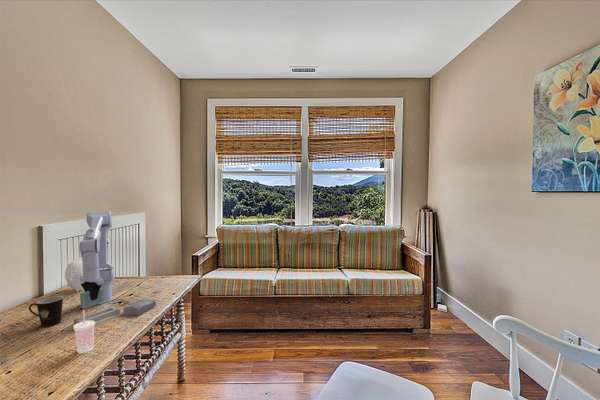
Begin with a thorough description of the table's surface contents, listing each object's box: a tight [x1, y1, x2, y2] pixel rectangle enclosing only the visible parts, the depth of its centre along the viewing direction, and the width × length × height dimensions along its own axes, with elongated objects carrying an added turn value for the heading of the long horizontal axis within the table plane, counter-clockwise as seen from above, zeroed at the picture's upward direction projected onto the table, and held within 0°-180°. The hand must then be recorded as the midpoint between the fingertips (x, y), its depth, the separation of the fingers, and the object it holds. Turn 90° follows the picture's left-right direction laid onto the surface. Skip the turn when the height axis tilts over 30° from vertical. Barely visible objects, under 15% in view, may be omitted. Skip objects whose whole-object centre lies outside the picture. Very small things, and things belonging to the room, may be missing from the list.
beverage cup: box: [73, 309, 96, 354], centre depth 107 cm, size 6×6×14 cm
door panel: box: [79, 288, 104, 310], centre depth 132 cm, size 2×8×6 cm, turn 151°
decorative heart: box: [64, 257, 84, 294], centre depth 169 cm, size 18×11×17 cm, turn 25°
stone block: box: [122, 298, 157, 316], centre depth 141 cm, size 12×5×10 cm
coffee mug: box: [28, 295, 64, 328], centre depth 129 cm, size 12×9×10 cm
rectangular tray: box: [73, 305, 122, 326], centre depth 131 cm, size 7×15×3 cm, turn 152°
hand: (92, 299), depth 132 cm, fingers closed on door panel, 2 cm apart
